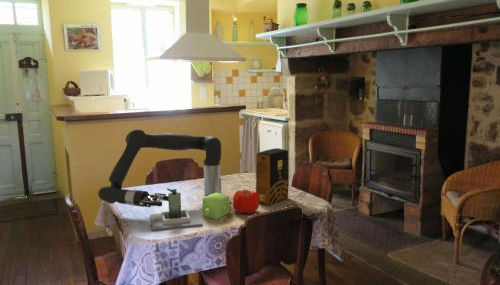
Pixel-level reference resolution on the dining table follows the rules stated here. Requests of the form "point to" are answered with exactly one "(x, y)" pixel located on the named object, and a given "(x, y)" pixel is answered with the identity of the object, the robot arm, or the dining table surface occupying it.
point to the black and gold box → (272, 176)
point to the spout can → (174, 204)
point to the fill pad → (175, 220)
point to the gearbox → (216, 205)
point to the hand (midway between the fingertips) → (166, 201)
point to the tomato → (245, 201)
